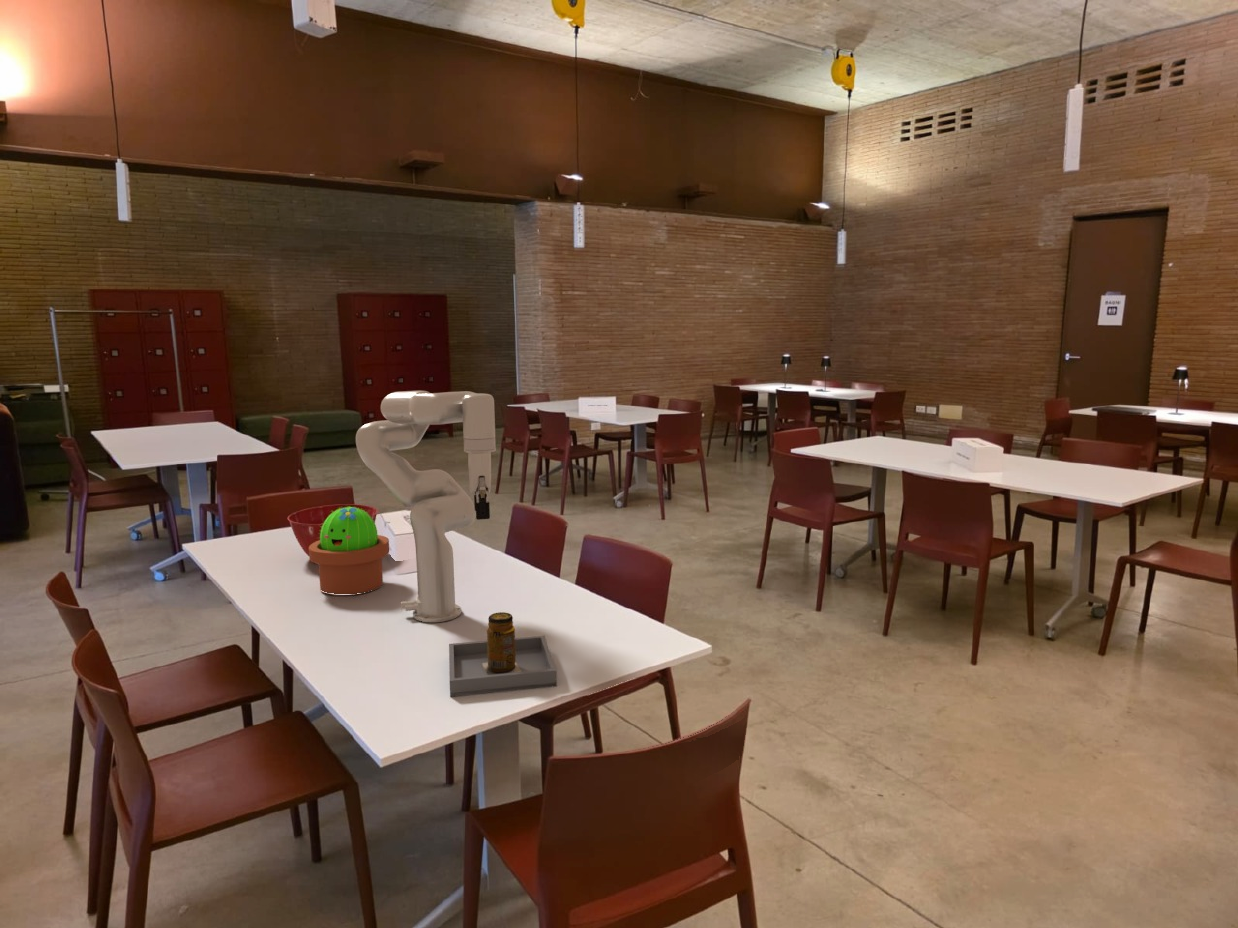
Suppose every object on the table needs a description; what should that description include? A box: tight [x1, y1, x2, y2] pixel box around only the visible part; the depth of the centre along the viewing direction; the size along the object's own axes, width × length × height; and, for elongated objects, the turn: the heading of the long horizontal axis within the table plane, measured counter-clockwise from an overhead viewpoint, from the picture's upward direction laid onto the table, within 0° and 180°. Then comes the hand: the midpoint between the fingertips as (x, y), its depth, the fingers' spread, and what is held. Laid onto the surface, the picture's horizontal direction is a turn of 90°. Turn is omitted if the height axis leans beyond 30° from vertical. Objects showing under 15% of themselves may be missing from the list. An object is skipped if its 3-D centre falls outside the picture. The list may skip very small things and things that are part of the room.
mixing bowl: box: [287, 503, 379, 557], centre depth 259 cm, size 28×28×16 cm
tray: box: [448, 635, 558, 698], centre depth 169 cm, size 22×20×4 cm
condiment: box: [482, 611, 522, 675], centre depth 168 cm, size 7×8×12 cm
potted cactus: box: [308, 507, 390, 594], centre depth 227 cm, size 22×22×25 cm
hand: (482, 514), depth 187 cm, fingers open, 9 cm apart
